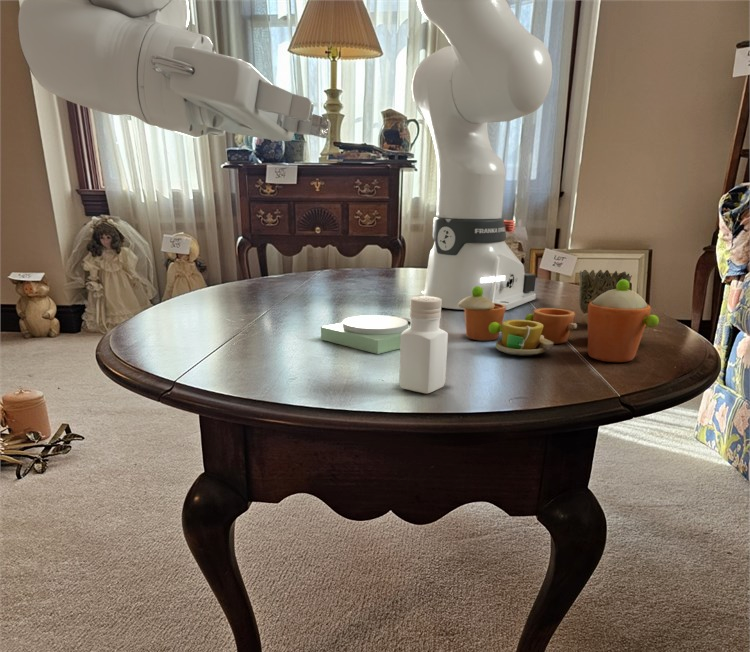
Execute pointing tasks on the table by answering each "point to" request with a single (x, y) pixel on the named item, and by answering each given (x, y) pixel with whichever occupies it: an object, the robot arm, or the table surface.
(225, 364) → the table surface
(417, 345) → the white square bottle
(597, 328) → the toy tea set
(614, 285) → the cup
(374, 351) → the scale
